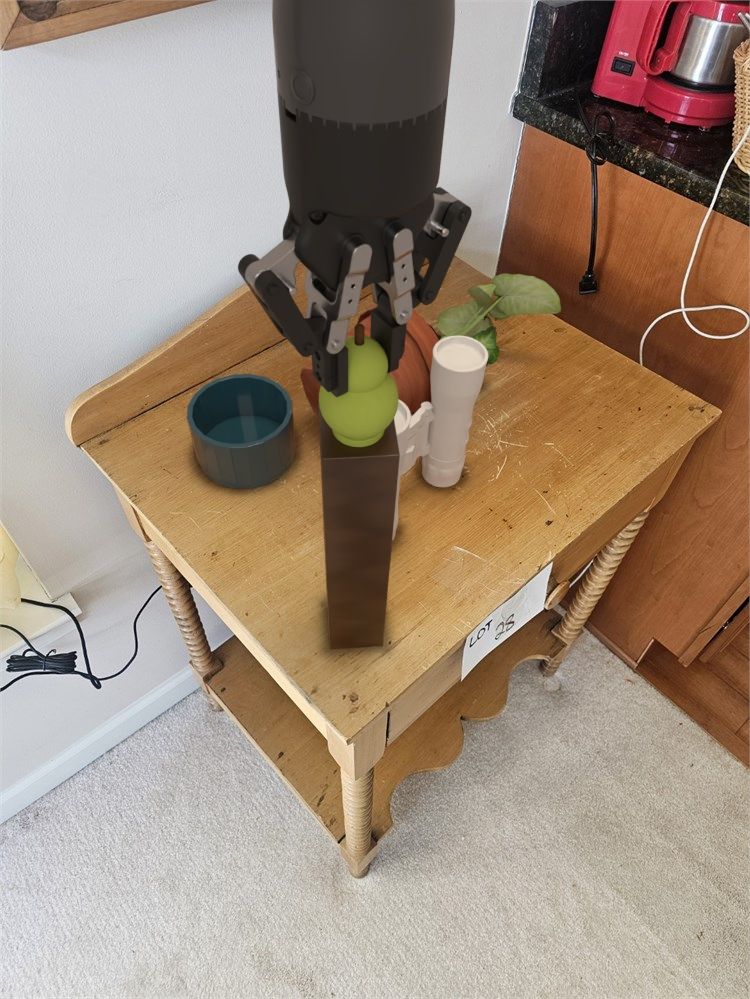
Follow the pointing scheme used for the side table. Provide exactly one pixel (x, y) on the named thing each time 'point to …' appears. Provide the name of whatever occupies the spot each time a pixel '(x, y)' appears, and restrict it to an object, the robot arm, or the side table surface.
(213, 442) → the teal bowl
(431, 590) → the side table surface
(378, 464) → the pedestal
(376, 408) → the pear
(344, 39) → the robot arm
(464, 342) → the binoculars
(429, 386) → the potted plant
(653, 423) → the side table surface
